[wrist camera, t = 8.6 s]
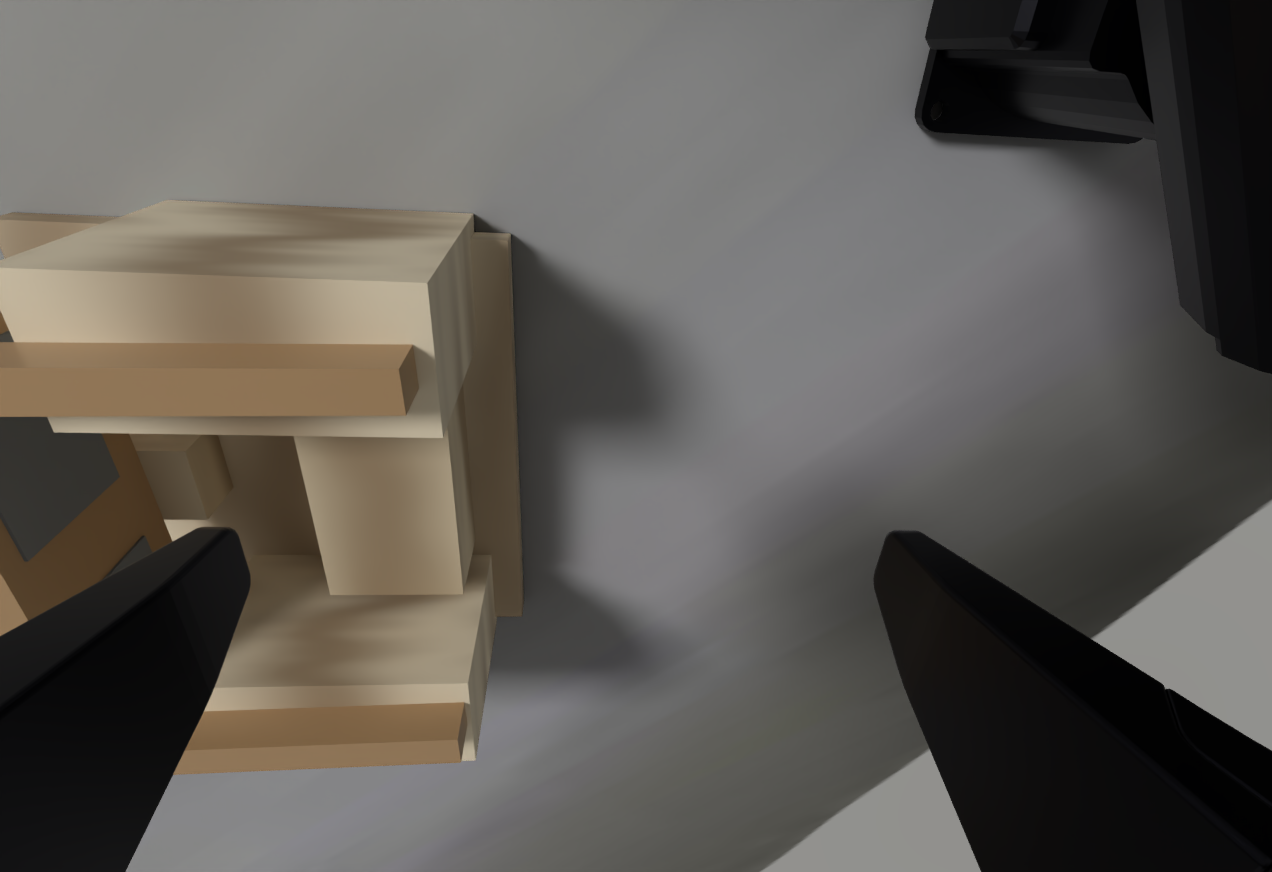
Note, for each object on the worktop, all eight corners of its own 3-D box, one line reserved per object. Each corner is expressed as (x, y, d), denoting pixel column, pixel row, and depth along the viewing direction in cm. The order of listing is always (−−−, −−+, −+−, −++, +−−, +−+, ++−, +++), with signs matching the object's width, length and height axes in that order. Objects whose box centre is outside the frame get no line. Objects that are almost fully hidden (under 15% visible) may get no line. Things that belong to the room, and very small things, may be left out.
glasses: (446, 286, 17) (398, 368, 12) (484, 627, 23) (461, 762, 18) (2, 281, 16) (-213, 367, 12) (163, 636, 22) (61, 779, 18)
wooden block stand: (510, 215, 18) (479, 284, 13) (523, 610, 26) (508, 759, 20) (3, 192, 17) (-262, 258, 12) (172, 613, 25) (57, 771, 19)
